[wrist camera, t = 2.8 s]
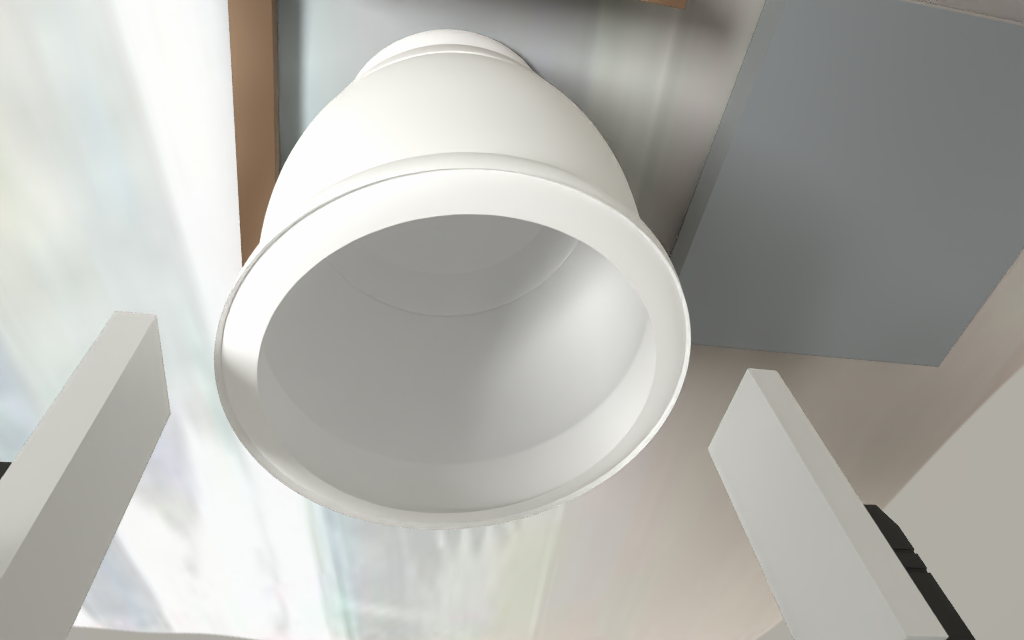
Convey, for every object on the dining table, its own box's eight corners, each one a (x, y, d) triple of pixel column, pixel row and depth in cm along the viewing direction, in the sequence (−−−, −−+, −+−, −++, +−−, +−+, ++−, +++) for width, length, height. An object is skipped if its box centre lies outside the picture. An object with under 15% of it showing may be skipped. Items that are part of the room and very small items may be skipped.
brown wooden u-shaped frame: (249, 286, 30) (227, 341, 27) (228, -151, 21) (190, -147, 17) (558, 316, 33) (572, 369, 29) (662, -58, 23) (699, -41, 20)
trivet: (645, 322, 33) (653, 340, 32) (777, -30, 24) (795, -22, 23) (921, 349, 36) (938, 366, 35) (1130, 45, 27) (1162, 55, 26)
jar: (425, 290, 31) (421, 582, 19) (253, 112, 25) (96, 366, 13) (623, 160, 28) (767, 408, 16) (479, -72, 23) (534, 43, 11)
